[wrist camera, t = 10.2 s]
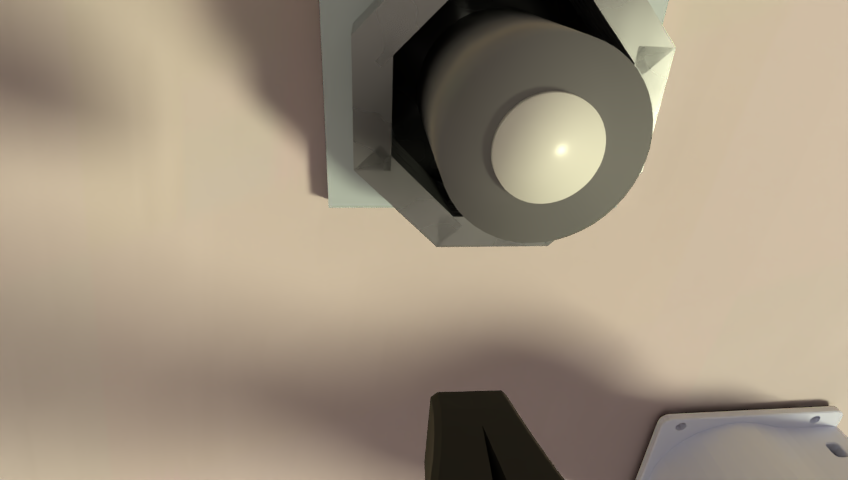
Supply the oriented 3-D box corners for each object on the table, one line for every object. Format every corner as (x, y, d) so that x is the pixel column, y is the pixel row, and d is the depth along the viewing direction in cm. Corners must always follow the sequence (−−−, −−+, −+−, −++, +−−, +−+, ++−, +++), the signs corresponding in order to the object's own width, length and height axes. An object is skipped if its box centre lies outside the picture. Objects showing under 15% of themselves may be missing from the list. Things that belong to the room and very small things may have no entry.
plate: (671, -54, 15) (682, -54, 14) (609, 200, 19) (616, 207, 18) (317, -75, 14) (315, -76, 13) (329, 200, 18) (328, 207, 17)
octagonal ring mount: (652, -60, 14) (704, -62, 12) (591, 210, 18) (622, 245, 16) (351, -79, 13) (348, -84, 11) (355, 210, 17) (355, 247, 15)
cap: (583, 9, 14) (684, 35, 10) (557, 165, 17) (629, 245, 12) (419, 5, 14) (446, 30, 9) (415, 166, 16) (435, 249, 12)
